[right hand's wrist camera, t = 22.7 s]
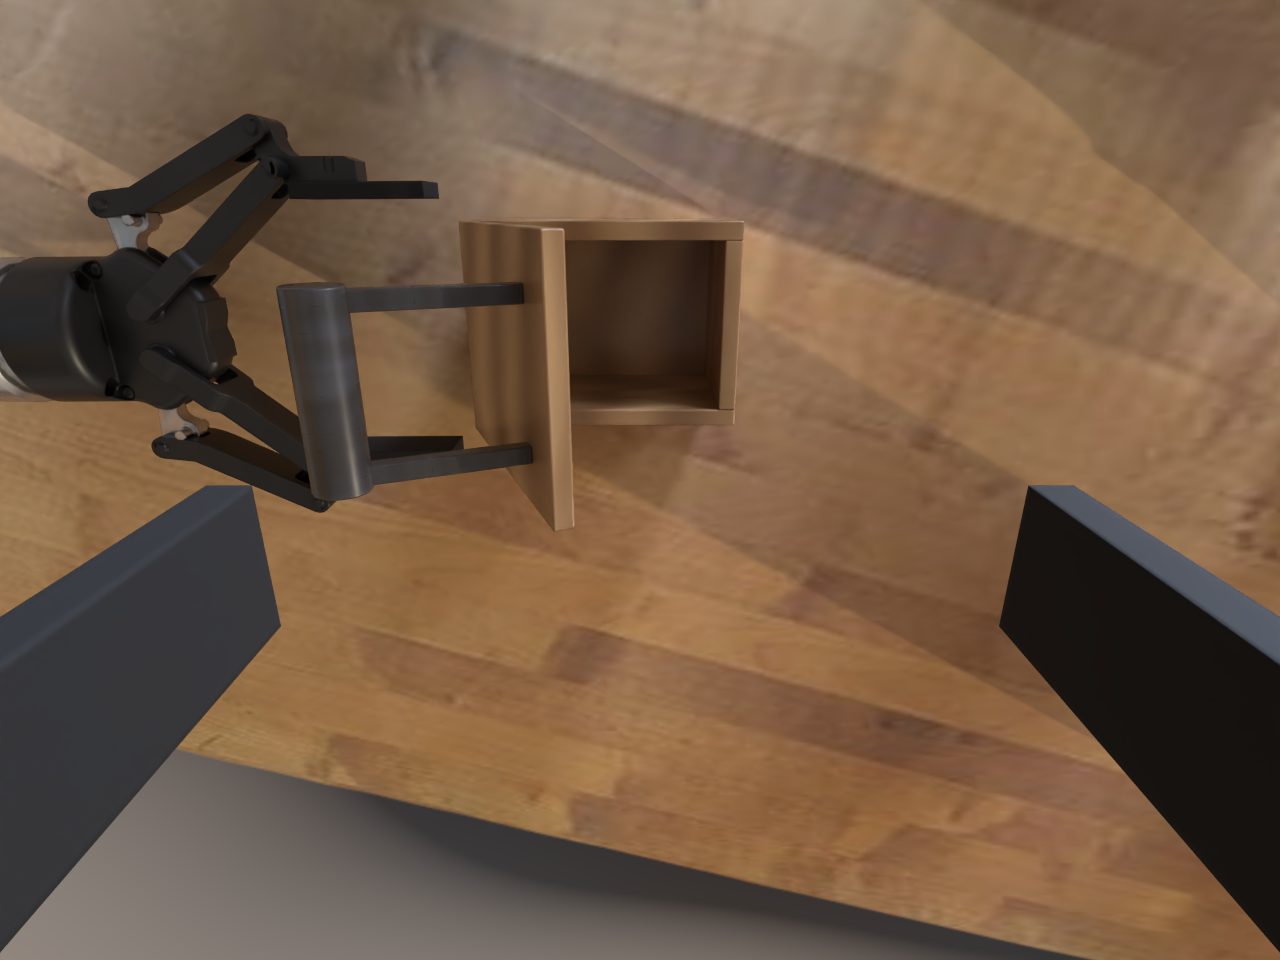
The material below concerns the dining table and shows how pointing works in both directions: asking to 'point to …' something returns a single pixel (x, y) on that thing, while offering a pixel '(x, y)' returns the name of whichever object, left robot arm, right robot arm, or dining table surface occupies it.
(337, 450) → the lid
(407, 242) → the dining table surface
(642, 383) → the chest
